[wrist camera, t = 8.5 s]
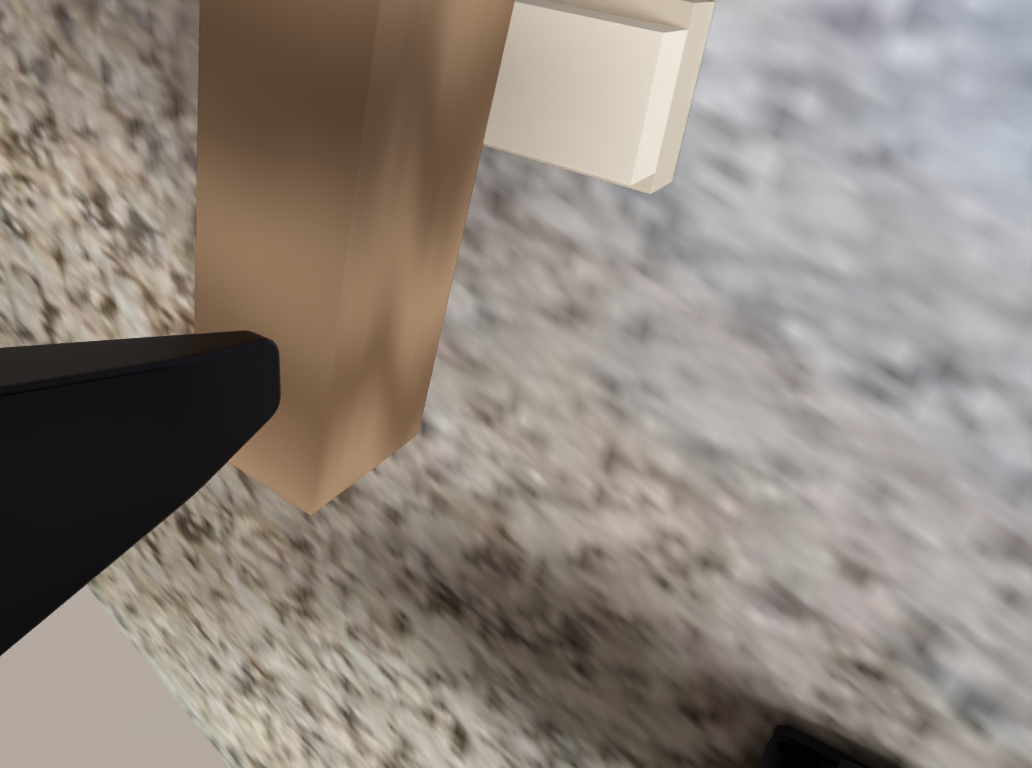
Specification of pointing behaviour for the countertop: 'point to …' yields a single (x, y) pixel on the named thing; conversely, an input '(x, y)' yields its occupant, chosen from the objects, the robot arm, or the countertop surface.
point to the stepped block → (600, 86)
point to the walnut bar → (338, 211)
